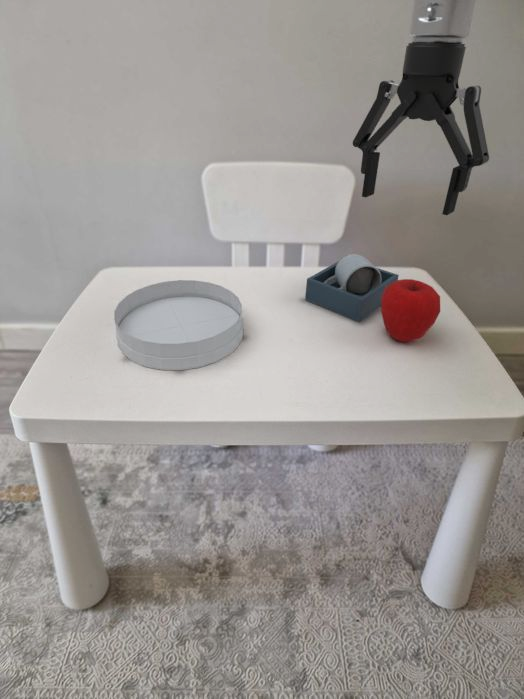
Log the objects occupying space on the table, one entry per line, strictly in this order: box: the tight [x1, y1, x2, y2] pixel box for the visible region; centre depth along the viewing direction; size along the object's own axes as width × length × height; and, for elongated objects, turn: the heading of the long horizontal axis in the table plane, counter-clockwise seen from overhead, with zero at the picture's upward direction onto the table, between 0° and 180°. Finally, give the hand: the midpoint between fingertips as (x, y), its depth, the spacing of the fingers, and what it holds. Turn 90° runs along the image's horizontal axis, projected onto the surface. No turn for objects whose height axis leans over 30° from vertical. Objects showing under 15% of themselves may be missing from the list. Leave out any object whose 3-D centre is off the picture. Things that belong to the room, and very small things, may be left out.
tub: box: [304, 260, 400, 323], centre depth 91 cm, size 13×14×5 cm
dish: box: [113, 279, 244, 371], centre depth 80 cm, size 22×22×5 cm
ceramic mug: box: [324, 253, 382, 297], centre depth 91 cm, size 11×8×8 cm
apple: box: [380, 278, 441, 343], centre depth 78 cm, size 10×10×11 cm
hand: (405, 203), depth 72 cm, fingers open, 13 cm apart
